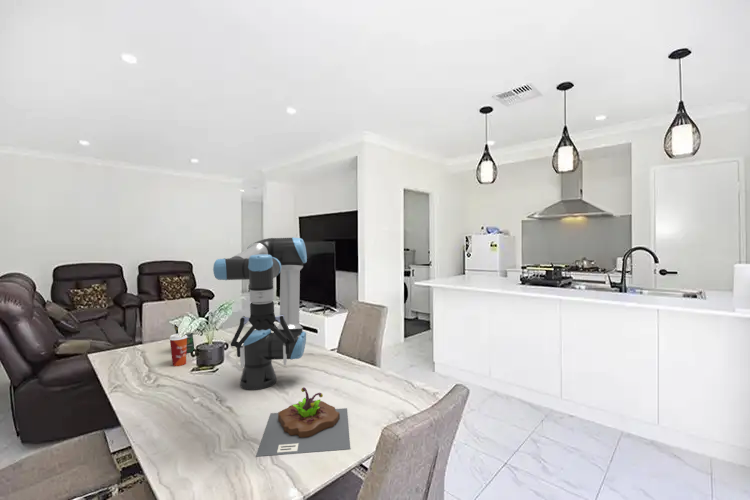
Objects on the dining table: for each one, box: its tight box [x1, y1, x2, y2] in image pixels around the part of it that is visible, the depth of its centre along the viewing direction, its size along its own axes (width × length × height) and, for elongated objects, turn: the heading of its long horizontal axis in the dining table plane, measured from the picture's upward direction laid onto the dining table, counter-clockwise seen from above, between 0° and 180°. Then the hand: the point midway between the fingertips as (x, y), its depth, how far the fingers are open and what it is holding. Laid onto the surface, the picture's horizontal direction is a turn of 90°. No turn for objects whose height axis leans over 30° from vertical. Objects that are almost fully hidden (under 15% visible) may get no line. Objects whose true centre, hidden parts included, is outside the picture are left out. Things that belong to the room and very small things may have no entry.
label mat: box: [255, 407, 351, 458], centre depth 122 cm, size 28×26×1 cm
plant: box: [277, 386, 340, 437], centre depth 128 cm, size 20×20×11 cm
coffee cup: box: [169, 333, 188, 367], centre depth 186 cm, size 8×8×15 cm
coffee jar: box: [173, 324, 195, 354], centre depth 205 cm, size 10×8×19 cm
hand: (264, 364), depth 121 cm, fingers open, 13 cm apart
